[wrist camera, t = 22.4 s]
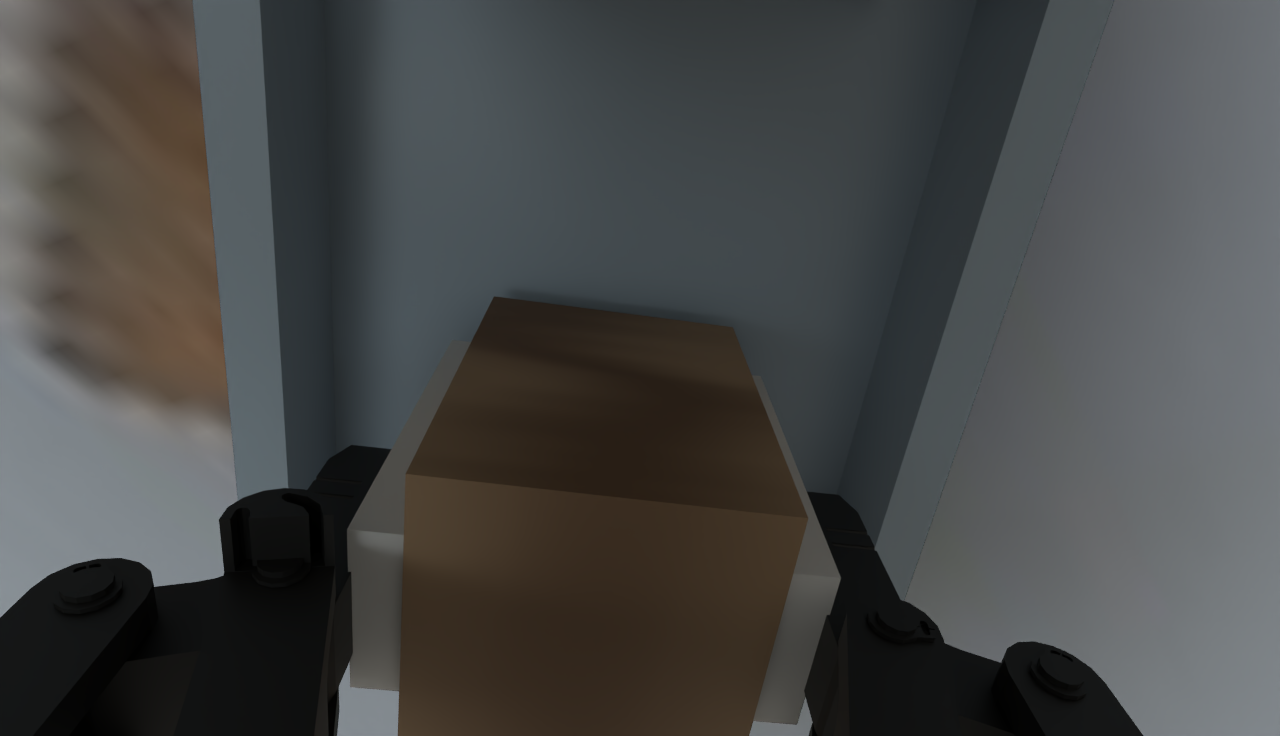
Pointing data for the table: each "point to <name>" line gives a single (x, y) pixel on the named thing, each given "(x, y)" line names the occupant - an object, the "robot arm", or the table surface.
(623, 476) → the walnut block
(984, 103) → the tray
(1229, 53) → the table surface
